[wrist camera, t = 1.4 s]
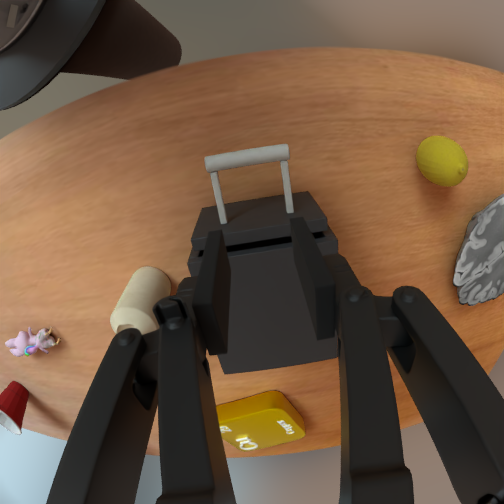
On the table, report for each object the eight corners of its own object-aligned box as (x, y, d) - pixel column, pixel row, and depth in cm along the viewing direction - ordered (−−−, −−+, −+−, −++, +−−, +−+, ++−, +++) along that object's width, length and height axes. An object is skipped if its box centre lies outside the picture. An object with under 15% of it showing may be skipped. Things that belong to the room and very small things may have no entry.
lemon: (445, 163, 31) (484, 181, 24) (413, 182, 32) (450, 205, 25) (431, 124, 28) (472, 134, 21) (398, 142, 30) (436, 156, 23)
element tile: (305, 420, 55) (309, 438, 50) (242, 437, 57) (242, 454, 53) (277, 386, 48) (280, 409, 44) (205, 407, 51) (203, 428, 47)
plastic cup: (21, 376, 49) (2, 413, 39) (43, 403, 54) (28, 439, 44) (-3, 370, 50) (-22, 403, 39) (18, 397, 55) (3, 429, 44)
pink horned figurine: (50, 314, 42) (2, 330, 41) (38, 335, 36) (-10, 350, 36) (68, 340, 44) (19, 353, 44) (59, 363, 39) (10, 373, 38)
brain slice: (430, 235, 35) (441, 245, 33) (504, 174, 31) (517, 180, 28) (455, 316, 43) (463, 326, 40) (517, 263, 38) (526, 271, 36)
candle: (169, 266, 36) (149, 318, 27) (173, 301, 39) (158, 356, 30) (128, 265, 36) (100, 314, 27) (135, 299, 39) (113, 351, 30)
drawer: (189, 152, 29) (172, 168, 22) (301, 134, 29) (321, 144, 22) (226, 307, 38) (224, 351, 31) (315, 293, 38) (330, 335, 31)
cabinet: (200, 219, 34) (186, 263, 25) (313, 202, 33) (338, 239, 24) (227, 319, 40) (224, 374, 32) (319, 305, 40) (336, 357, 31)
